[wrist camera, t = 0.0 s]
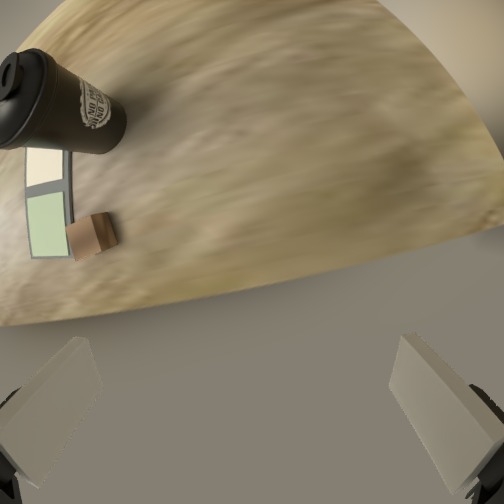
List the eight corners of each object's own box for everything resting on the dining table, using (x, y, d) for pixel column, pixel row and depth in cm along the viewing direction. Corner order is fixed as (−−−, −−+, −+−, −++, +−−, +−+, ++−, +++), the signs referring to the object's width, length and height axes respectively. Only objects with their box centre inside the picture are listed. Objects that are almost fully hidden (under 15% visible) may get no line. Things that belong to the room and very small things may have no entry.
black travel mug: (136, 146, 35) (20, 112, 12) (80, 169, 35) (-40, 166, 13) (128, 85, 33) (32, 17, 10) (73, 111, 33) (-33, 76, 11)
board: (29, 130, 33) (25, 129, 32) (73, 114, 33) (69, 112, 32) (34, 257, 38) (29, 259, 37) (77, 256, 38) (73, 258, 37)
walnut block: (83, 222, 37) (64, 227, 32) (107, 211, 37) (90, 215, 32) (93, 253, 38) (75, 261, 33) (117, 244, 38) (101, 251, 33)
